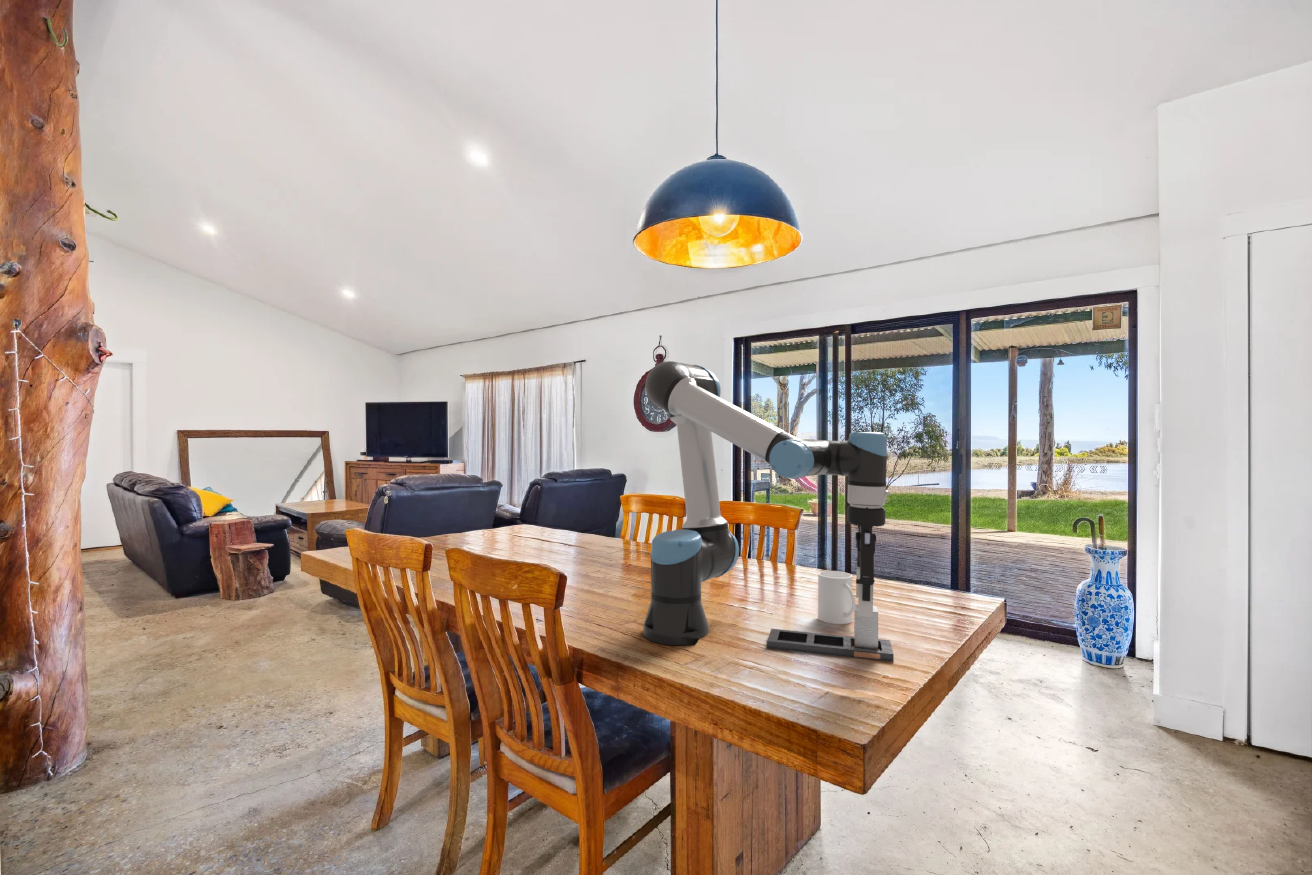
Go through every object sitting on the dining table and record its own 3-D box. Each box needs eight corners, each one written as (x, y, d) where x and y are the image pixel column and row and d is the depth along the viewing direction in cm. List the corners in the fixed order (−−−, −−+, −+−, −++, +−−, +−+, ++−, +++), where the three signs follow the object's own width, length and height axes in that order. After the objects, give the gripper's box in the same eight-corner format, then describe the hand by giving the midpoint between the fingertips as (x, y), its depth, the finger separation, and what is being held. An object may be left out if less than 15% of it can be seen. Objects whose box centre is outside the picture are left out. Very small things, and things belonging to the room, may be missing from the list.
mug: (867, 631, 138) (867, 580, 138) (834, 633, 136) (834, 582, 136) (841, 616, 150) (841, 569, 150) (811, 618, 148) (811, 571, 148)
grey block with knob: (854, 653, 121) (854, 607, 121) (854, 646, 125) (854, 601, 125) (878, 656, 119) (878, 609, 119) (876, 648, 124) (876, 603, 124)
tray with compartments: (767, 652, 124) (767, 641, 124) (771, 639, 132) (771, 628, 132) (893, 666, 117) (893, 654, 117) (889, 651, 125) (889, 640, 125)
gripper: (890, 514, 109) (887, 627, 109) (881, 500, 133) (878, 592, 133) (848, 512, 111) (845, 622, 112) (846, 498, 135) (844, 589, 135)
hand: (863, 606), depth 122 cm, fingers open, 13 cm apart
